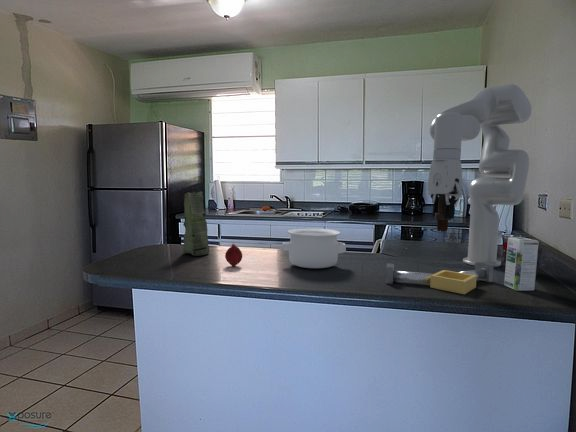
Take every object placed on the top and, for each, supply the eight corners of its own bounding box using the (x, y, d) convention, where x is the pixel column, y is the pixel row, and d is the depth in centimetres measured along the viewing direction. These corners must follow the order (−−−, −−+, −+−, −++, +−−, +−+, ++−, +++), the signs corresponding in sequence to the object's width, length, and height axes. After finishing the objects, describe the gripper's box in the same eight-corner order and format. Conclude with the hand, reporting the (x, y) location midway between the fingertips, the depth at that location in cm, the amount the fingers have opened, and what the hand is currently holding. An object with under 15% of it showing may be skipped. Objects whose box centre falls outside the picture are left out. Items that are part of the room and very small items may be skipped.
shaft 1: (433, 283, 117) (434, 266, 117) (434, 287, 113) (435, 270, 112) (386, 279, 121) (387, 263, 121) (385, 283, 117) (386, 266, 116)
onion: (245, 265, 137) (245, 242, 136) (236, 269, 132) (236, 245, 131) (231, 263, 139) (231, 241, 139) (221, 267, 134) (221, 244, 133)
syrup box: (503, 285, 116) (506, 236, 115) (522, 285, 117) (525, 236, 115) (515, 291, 111) (519, 240, 109) (535, 290, 111) (539, 240, 110)
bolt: (455, 231, 119) (458, 181, 117) (448, 232, 115) (451, 181, 113) (435, 229, 123) (438, 181, 121) (429, 230, 119) (431, 180, 117)
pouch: (185, 258, 148) (184, 191, 145) (177, 252, 158) (176, 190, 156) (214, 255, 153) (213, 191, 151) (204, 250, 164) (204, 190, 161)
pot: (342, 261, 146) (343, 229, 144) (347, 273, 128) (348, 236, 127) (283, 260, 147) (283, 227, 145) (280, 271, 130) (280, 234, 128)
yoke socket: (442, 281, 120) (443, 269, 120) (475, 287, 114) (476, 275, 113) (430, 287, 113) (430, 275, 113) (464, 294, 107) (465, 281, 106)
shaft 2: (466, 286, 115) (467, 269, 114) (451, 282, 119) (452, 265, 119) (492, 281, 120) (493, 265, 120) (478, 277, 125) (479, 262, 124)
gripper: (418, 156, 124) (415, 214, 125) (455, 154, 107) (451, 220, 109) (439, 157, 126) (435, 214, 127) (478, 155, 110) (473, 220, 111)
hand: (443, 216), depth 118 cm, fingers closed on bolt, 4 cm apart
